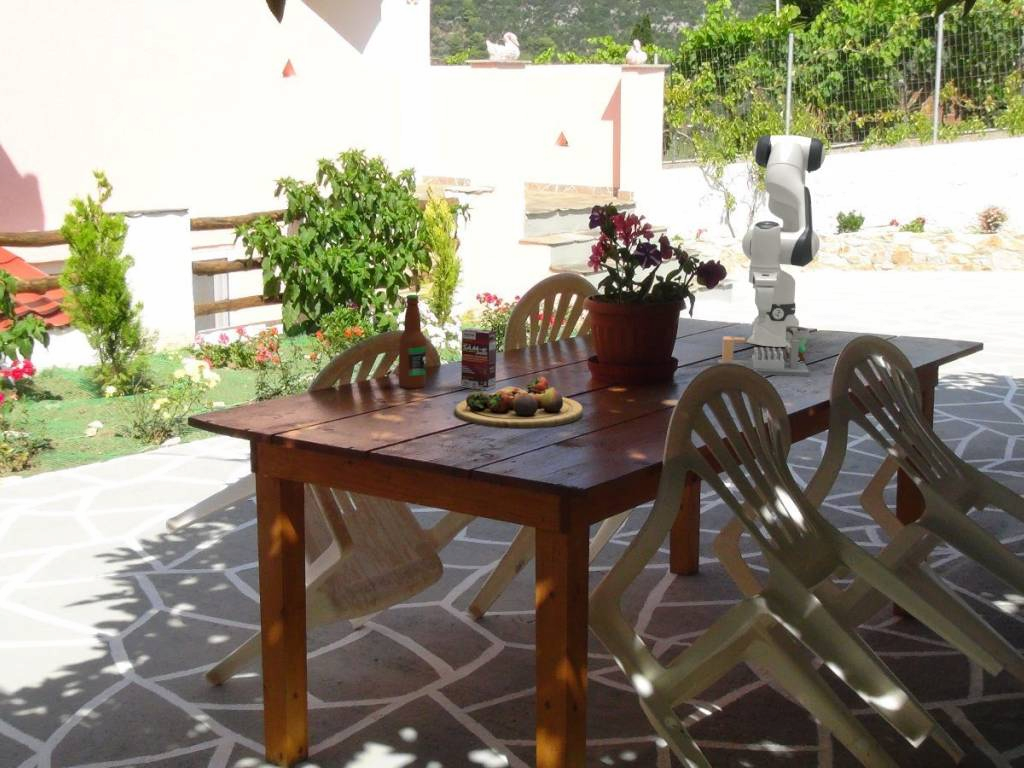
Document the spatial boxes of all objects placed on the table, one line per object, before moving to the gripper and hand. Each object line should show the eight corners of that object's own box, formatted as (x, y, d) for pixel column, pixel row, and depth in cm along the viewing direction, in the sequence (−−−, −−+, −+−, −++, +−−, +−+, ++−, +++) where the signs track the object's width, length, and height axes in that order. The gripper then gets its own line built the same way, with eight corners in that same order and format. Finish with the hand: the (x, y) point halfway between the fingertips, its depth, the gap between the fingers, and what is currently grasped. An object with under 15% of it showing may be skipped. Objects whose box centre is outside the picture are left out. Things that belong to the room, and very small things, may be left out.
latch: (721, 361, 388) (723, 336, 387) (743, 362, 387) (744, 337, 386) (722, 364, 382) (723, 339, 381) (744, 365, 381) (745, 340, 380)
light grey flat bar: (752, 324, 383) (755, 320, 383) (794, 350, 383) (797, 346, 383) (753, 325, 380) (755, 321, 380) (795, 351, 380) (798, 347, 380)
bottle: (417, 389, 346) (417, 297, 341) (394, 387, 349) (394, 296, 344) (430, 385, 352) (430, 294, 347) (407, 382, 355) (407, 293, 350)
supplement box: (460, 387, 350) (460, 330, 347) (469, 384, 354) (469, 327, 351) (488, 390, 346) (488, 332, 343) (496, 387, 350) (497, 330, 347)
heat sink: (717, 363, 393) (719, 332, 392) (804, 366, 390) (806, 335, 388) (719, 372, 378) (720, 340, 376) (809, 376, 375) (811, 344, 373)
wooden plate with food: (510, 396, 341) (510, 365, 340) (608, 412, 322) (608, 380, 320) (428, 418, 317) (427, 385, 315) (529, 437, 297) (529, 402, 296)
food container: (811, 364, 395) (813, 332, 393) (791, 363, 395) (793, 331, 393) (803, 357, 407) (805, 326, 405) (784, 356, 407) (786, 325, 405)
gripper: (751, 273, 389) (749, 318, 392) (755, 280, 369) (752, 327, 372) (772, 273, 388) (770, 318, 391) (777, 281, 368) (774, 328, 371)
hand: (761, 323), depth 381 cm, fingers closed
